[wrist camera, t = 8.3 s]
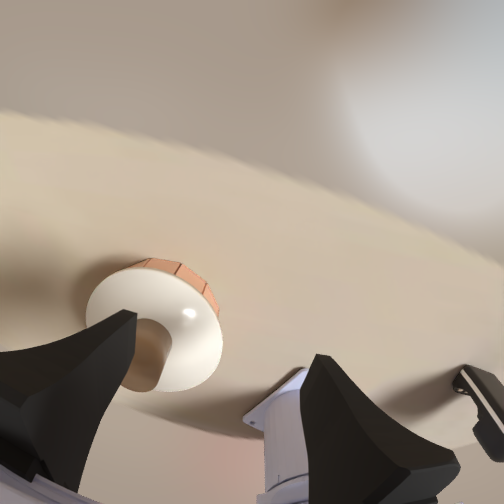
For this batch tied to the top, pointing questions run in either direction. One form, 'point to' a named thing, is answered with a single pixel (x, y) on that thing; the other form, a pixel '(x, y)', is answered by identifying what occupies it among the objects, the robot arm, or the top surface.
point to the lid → (161, 328)
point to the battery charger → (485, 408)
